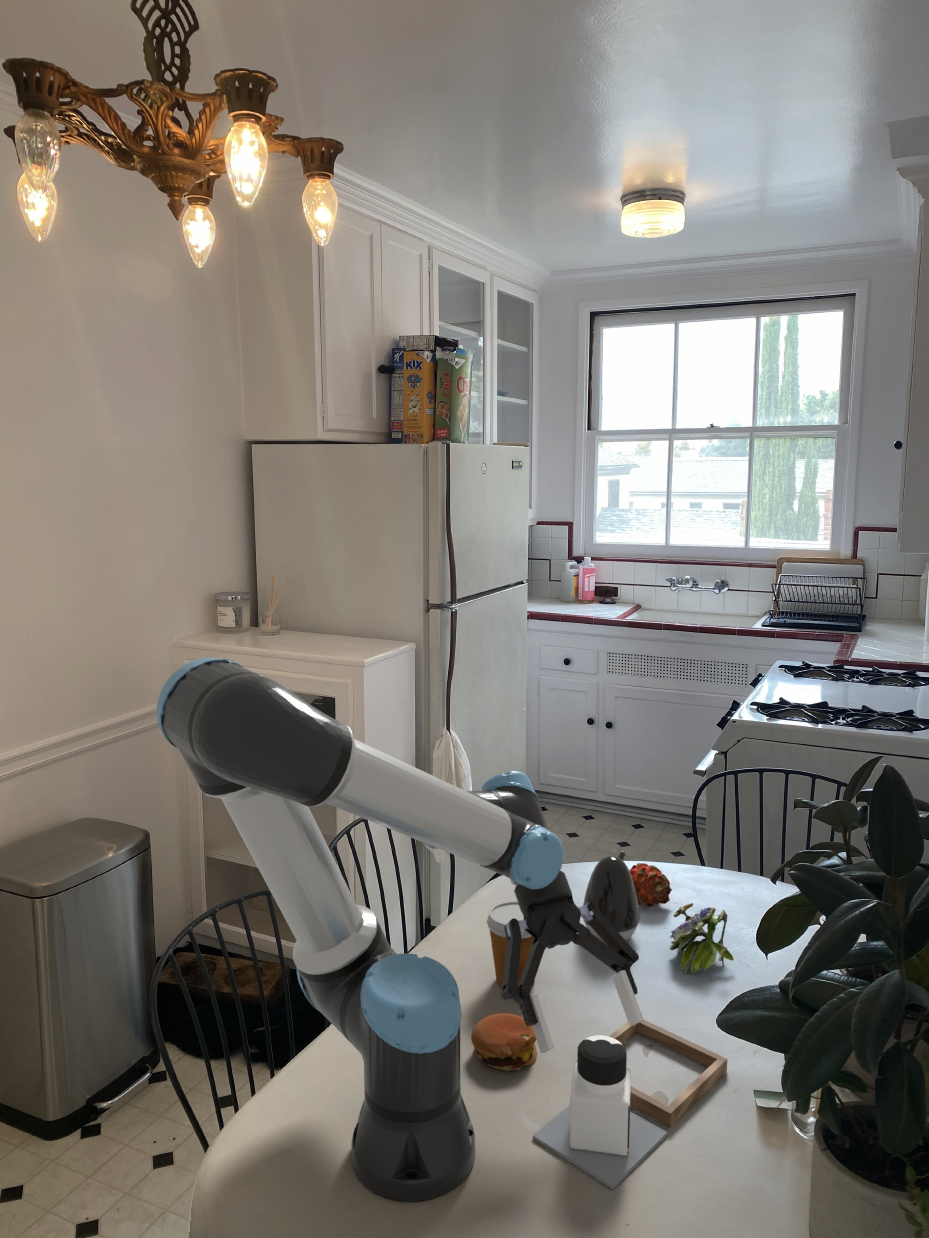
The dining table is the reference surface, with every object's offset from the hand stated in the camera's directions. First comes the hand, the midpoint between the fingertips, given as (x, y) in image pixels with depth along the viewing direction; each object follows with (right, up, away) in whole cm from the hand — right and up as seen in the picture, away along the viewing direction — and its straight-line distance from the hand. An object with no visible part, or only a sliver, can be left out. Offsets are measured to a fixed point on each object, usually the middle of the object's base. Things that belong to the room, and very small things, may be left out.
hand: (593, 1036), depth 116 cm
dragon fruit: (+18, -2, +60) cm, 63 cm away
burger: (-11, -9, +14) cm, 20 cm away
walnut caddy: (+9, -9, +9) cm, 16 cm away
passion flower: (+24, -5, +39) cm, 46 cm away
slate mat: (0, -11, -3) cm, 12 cm away
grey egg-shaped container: (+10, -4, +47) cm, 49 cm away
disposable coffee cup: (-8, -6, +33) cm, 34 cm away
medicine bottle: (+1, -11, -3) cm, 11 cm away
